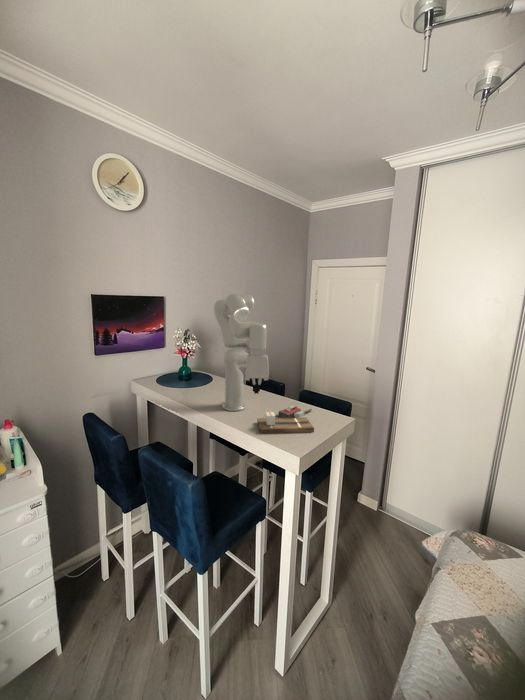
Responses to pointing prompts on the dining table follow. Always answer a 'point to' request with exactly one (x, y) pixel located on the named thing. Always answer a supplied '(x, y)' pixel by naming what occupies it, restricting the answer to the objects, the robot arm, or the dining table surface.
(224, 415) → the dining table surface
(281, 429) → the brown board with strips
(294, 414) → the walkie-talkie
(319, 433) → the dining table surface
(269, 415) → the fader
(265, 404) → the dining table surface
